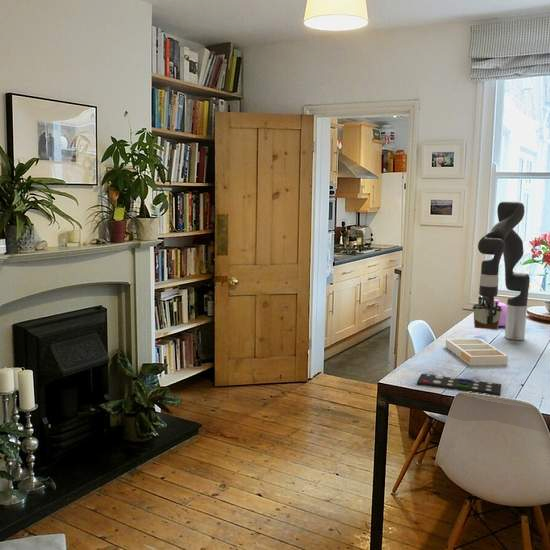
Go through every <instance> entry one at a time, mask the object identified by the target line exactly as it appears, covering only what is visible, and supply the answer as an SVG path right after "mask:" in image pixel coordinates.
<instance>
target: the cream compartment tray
mask: <svg viewBox="0 0 550 550" xmlns="http://www.w3.org/2000/svg"><path fill="white" fill-rule="evenodd" d="M445 348H446V349H447V348H448V350H449V351H450V350H451V351H452V353H453V354H454V353H455V354H456V356H457V358H459V357H460V358H459V359H461V361H463V360H464V363H466V364H467V363H468V364H467V365H469V366H470V365H473V366H508V361H509V355H507V354H506V353H504V352H502V351H501V350H499V349H498V348H496V347H494V346H493V345H491V344H490V343H488V342H486V341H485V340H483V339H482V338H446V339H445ZM455 354H454V355H455Z"/></svg>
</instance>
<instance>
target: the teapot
mask: <svg viewBox="0 0 550 550" xmlns="http://www.w3.org/2000/svg"><path fill="white" fill-rule="evenodd" d="M494 302H497V303H498V306H501V308H502V311H501V313H500V319H499V324H498V326H502V327H505V324H506V314H507V304H506V303H505V302H501V301H500V299H495V298H494Z"/></svg>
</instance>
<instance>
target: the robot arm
mask: <svg viewBox="0 0 550 550" xmlns="http://www.w3.org/2000/svg"><path fill="white" fill-rule="evenodd" d="M496 209H497V211H496V212H497V219H498V222H497V223H496V224H494V226H492V228H491V230H490V232H488V233H486V234H485V235H483V236H482V237H481V238H480V240H479V241H478V244H477V249H478V251H479V253H481V254H483V255H491V256H492V255H493V257H492V258H491V259H484V260H482V261H481V266H480V277H479V287H478V288H479V289H478V294H479V296H478V303H477V304H481V306H484V307H485V308H486V311H487V314H488V316H487V324H488V325H492V324H493V316H494V315H496V312H497V305H498V303H497V302H494V300H495V297H497V296H498V290H499V268H500V262H501V258H502V256H503V262H504V282H505V287H506V289H507V291H511V292H512V291H513V292H519V293H520V294H517V295H516V296H512V297H508V299H507V304H506V305H507V314H506V324H505V326H504V329H505V330H504V338H505V339H508V340H511V341H523V340H525V336H526V323H527V309H528V299H529V289H530V288H529V287H530V282H531V281H530V280H531V278H530V275H529V274H528V273H522V272H515V271H514V268H515V267H516V266H517V264H518V263H519V262H520V260H521V259H522V258H523V256H524V243H523V240H522V238H521V236H520V235H519V234H518V233H517V232H516V231H515V230H514V228H515V227H516V226H518V224H520V222H521V221H522V220H523V219H524V215H525V204H524V203H523V202H520V201H506V200H505V201H500V202H499V203H498V204H497V208H496ZM489 308H490V309H489ZM489 311H490V312H489Z"/></svg>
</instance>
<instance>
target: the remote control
mask: <svg viewBox="0 0 550 550" xmlns="http://www.w3.org/2000/svg"><path fill="white" fill-rule="evenodd" d="M416 385H418V386H426V387H432V388H439V387H440V389H446V388H448V390H454V389H457V390H456V391H461V392H468V391H472V392H471V393H476V392H478V393H477V394H483V393H486V395H493V396H497V397H498V396H499V397H500V396H501V388H502V384H501V383H496V382H490V381H489V382H488V381H481V380H477V379H476V380H472V379H469V378H457V377H450V376H442V375H435V374H428V373H421V374H420V375H419V377H418V379H417V381H416Z"/></svg>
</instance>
